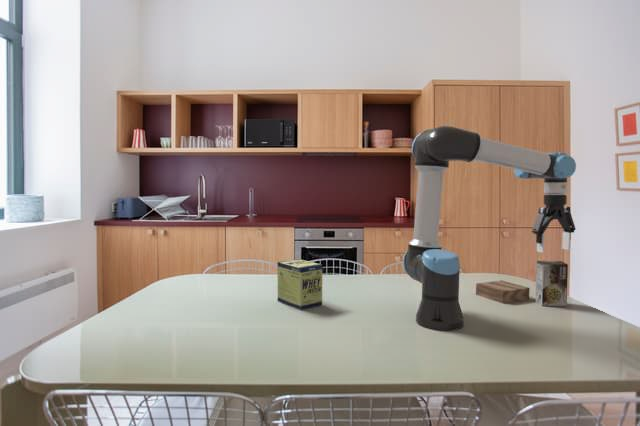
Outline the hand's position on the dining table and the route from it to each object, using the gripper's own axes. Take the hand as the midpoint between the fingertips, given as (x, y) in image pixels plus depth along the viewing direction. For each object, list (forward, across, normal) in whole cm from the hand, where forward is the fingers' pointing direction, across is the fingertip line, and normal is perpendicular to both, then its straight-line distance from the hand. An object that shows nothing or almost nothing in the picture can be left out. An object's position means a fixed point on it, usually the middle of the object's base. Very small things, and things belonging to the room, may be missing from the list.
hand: (553, 250), depth 164 cm
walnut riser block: (+21, -10, +15) cm, 27 cm away
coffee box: (+21, 0, 0) cm, 21 cm away
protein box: (+20, -88, +39) cm, 98 cm away
